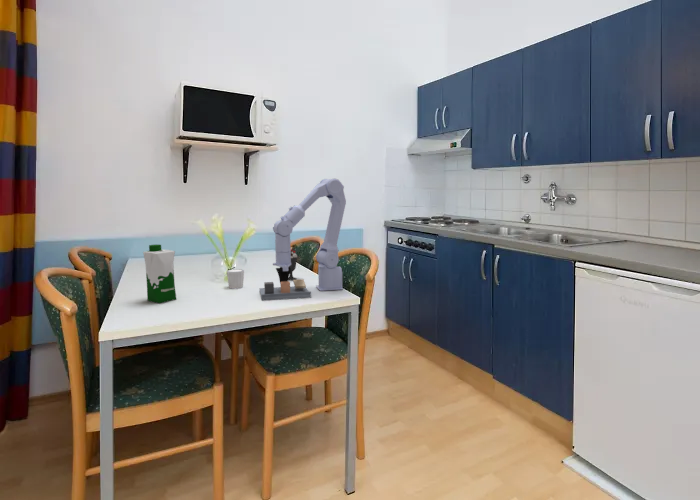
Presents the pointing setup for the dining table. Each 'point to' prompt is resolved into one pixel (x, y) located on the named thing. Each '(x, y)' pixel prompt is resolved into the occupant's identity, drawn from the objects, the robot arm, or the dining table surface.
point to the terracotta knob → (285, 287)
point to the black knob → (269, 287)
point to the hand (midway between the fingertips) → (283, 286)
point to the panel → (285, 294)
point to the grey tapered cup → (235, 278)
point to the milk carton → (159, 274)
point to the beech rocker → (299, 283)
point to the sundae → (293, 264)
